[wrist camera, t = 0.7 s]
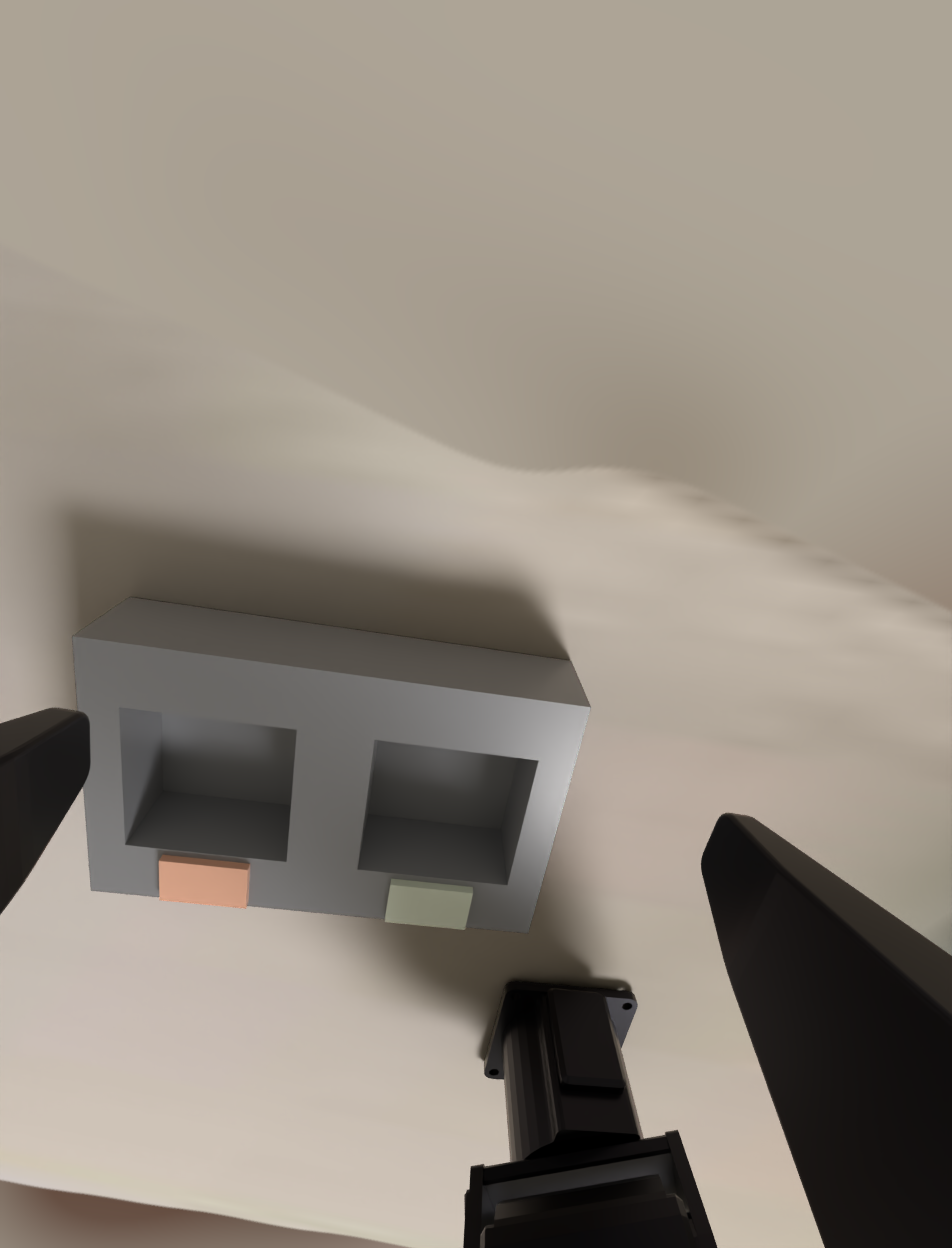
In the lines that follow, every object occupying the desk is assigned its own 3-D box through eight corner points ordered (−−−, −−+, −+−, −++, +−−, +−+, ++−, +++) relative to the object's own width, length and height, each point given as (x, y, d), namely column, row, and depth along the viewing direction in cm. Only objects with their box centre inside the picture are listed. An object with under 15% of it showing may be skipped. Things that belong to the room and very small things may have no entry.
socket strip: (518, 865, 27) (528, 940, 23) (137, 824, 25) (86, 897, 22) (571, 660, 23) (592, 712, 20) (129, 596, 21) (66, 640, 18)
